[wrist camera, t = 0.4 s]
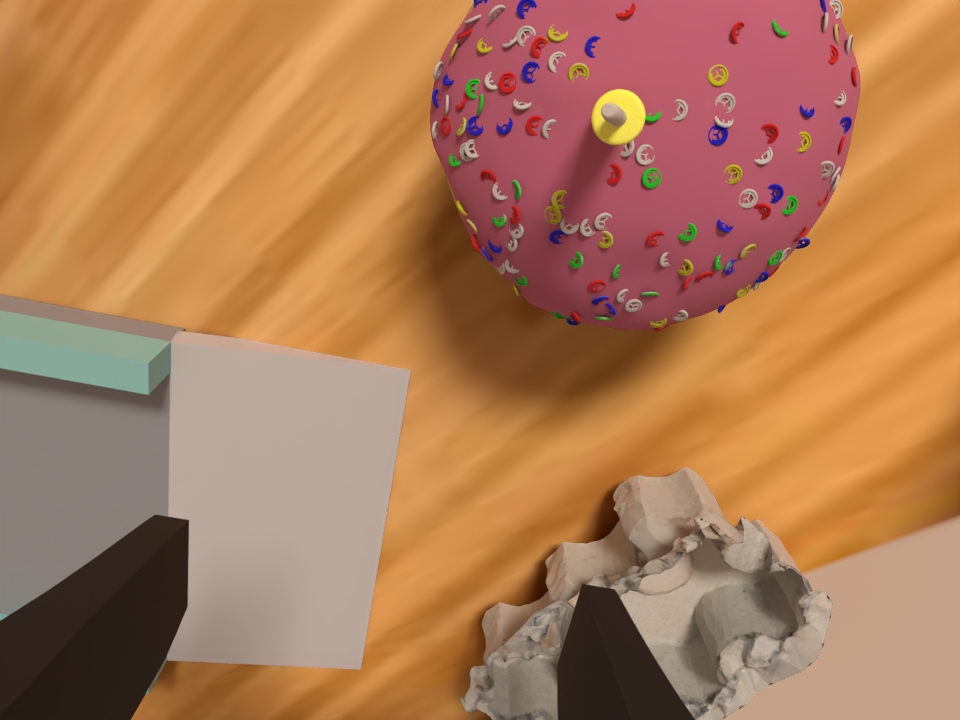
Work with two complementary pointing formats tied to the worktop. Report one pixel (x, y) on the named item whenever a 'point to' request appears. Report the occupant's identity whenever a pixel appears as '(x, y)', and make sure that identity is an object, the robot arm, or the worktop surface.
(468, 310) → the worktop surface
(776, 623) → the egg carton
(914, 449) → the worktop surface
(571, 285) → the cupcake
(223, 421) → the dock
